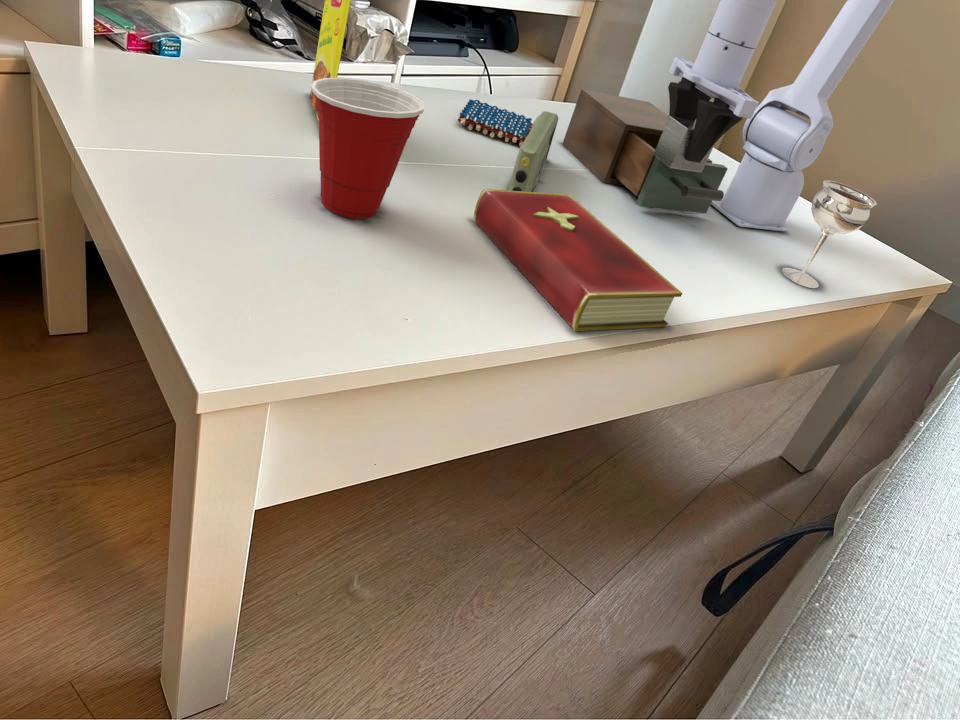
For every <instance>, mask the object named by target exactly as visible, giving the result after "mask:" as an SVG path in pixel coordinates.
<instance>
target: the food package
mask: <svg viewBox="0 0 960 720" xmlns="http://www.w3.org/2000/svg"><path fill="white" fill-rule="evenodd" d="M351 1H352V0H324V3H323V8H322V9H323V11H322V17H321V23H320V29H319V35H318V43H317V47H316V48H317V49H316V55H315V60H314V68H313V73H312V74H313V75H312V81H311V84H312V83H313V81H316V80H320V79H323V78H338V76H339V75H338V74H339V69H340V64H341V57H342V52H343V46H344V40H345V35H346V28H347V24H348V23H347V22H348V18H349V13H350V6H351ZM309 98H310V101H311V104H312V108H313V110H314V113H315V117H316V119H317V122H318V123H319V118H318V108H317V107H316V99H315V95H314V93H313V92H312V90H311V89H310V92H309Z"/></svg>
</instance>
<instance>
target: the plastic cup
mask: <svg viewBox="0 0 960 720" xmlns="http://www.w3.org/2000/svg"><path fill="white" fill-rule="evenodd" d="M312 81H313V80H312ZM311 90H312V92H313V93H314V95H315V99H316V107H317V108H318V118H319V122H318V138H319V139H318V147H319V149H318V151H319V152H318V153H319V155H318V157H319V172H320V198H321V203H322V205H323V207H324V208H325V209H327V210H328V211H329V212H331V213H334V214H336V215H338V216H341V217H344V218H349V219H353V220H365V219H371V218H372V217H374V216H375V215H376V214H377V213H378V210H379V209H380V207H381V204H382V202H383V201H384V197H385V194H386V192H387V190H388V188H389V187H390V185H391V182H392V180H393V177H394V175H395V172H396V170H397V168H398V165H399V162H400V159H401V157H402V155H403V153H404V150H405V147H406V145H407V142H408V139H410V136H411V134H412V131H413V129H414V128H415V125H416V122H417V121H418V120H419V117H420V115H421V114H423V113H424V111H425V106H426V105H425V104H426V103H425V102H424V101H423V100H422V99H420V98H419V97H418V96H417V95H414V94H412V93H410V92H408V91H405V90H403V89H400V88H396V87H393V86H391V85H387V84H384V83H380V82H379V83H378V82H375V81H370V80H364V79H356V78H348V77H347V78H346V77H337V78H323V79H320V80H316V81H313V83H312V82H311V85H310V91H311Z"/></svg>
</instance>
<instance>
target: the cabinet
mask: <svg viewBox="0 0 960 720" xmlns="http://www.w3.org/2000/svg"><path fill="white" fill-rule="evenodd" d="M668 118H669V114H667V113H665V112H664V111H663V110H661V109H660V108H658V107H657V106H656V105H654V104H652V102H650V101H645V100H642V99H641V100H640V99H637V98H630V97H625V96H619V95H615V94H610V93H604V92H599V91H595V90H589V89H585V88H581V89H580V92H579V95H578V98H577V100H576V103H575V106H574V109H573V112H572V114H571V118H570V121H569V123H568V126H567V129H566V132H565V134H564V137H563V140H562V143H561V144H562V145H563V146H564V147H565V148H566V149H567V151H569V152H570V153H571V154H572V155H573V156H574V157H575V158H576V159H578V160H579V162H580V163H582V164H583V165H584V166H585V167H586V168H587V169H588V170H589V171H590V172H591V173H592V174H593V175H595V177H597V178H598V179H599V180H600V181H601V183H603V184H609V185H618V186H624V187H626V186H625V185H624V184H623V183H621V182H620V181H619V180H618V179H617V178H616V177H615V176H614V175H613V174H612V172H613V169H614V167H615V164H616V162H617V159H618V157H619V154H620V152H621V149H622V147H623V144H624V142H625V139H626V136H627V134H628V130H629V131H635V132H641V133H647V134H652V135H658V136H661V135H662V133H663V130H664V128H665V126H666V123H667V121H668Z"/></svg>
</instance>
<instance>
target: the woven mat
mask: <svg viewBox="0 0 960 720" xmlns="http://www.w3.org/2000/svg"><path fill="white" fill-rule="evenodd" d="M532 120H533V118H532V117H527V116H526V115H524V114H519V113H516V112H515V111H511V112H510V110H507V109H505V108H502V109H501V107H498V106H497V105H493V104H489V103H487V102H483V101H482V100H480V99H474V100H473V99H471V98H469V99H468V101H467V104H466V103H465V106H463V109H462V110H461V112H459V117H458V119H457V121H458V123H459V124H460V125H462V126H466V125H468V127H467V129H468V131H472V130H473V129H474V127H475V130H476V131H477V132H479V131H480V132H481V129H482V133H483V135H487V134H488V132H490V134H489V137H490V138H492V139H493V138H495V135H496V136H497V137H498V138H500V139H502V138H504V143H508V142H509V141H510V139H512V141H511V142H512V143H513V144H517V142H518V141H519V143H518V146H519V148H520V147H521V146H522V144H523V142H524V141H525V139H526V137H527V136H528V134H529V133H530V131H531V128H532V124H533V123H532Z"/></svg>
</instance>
